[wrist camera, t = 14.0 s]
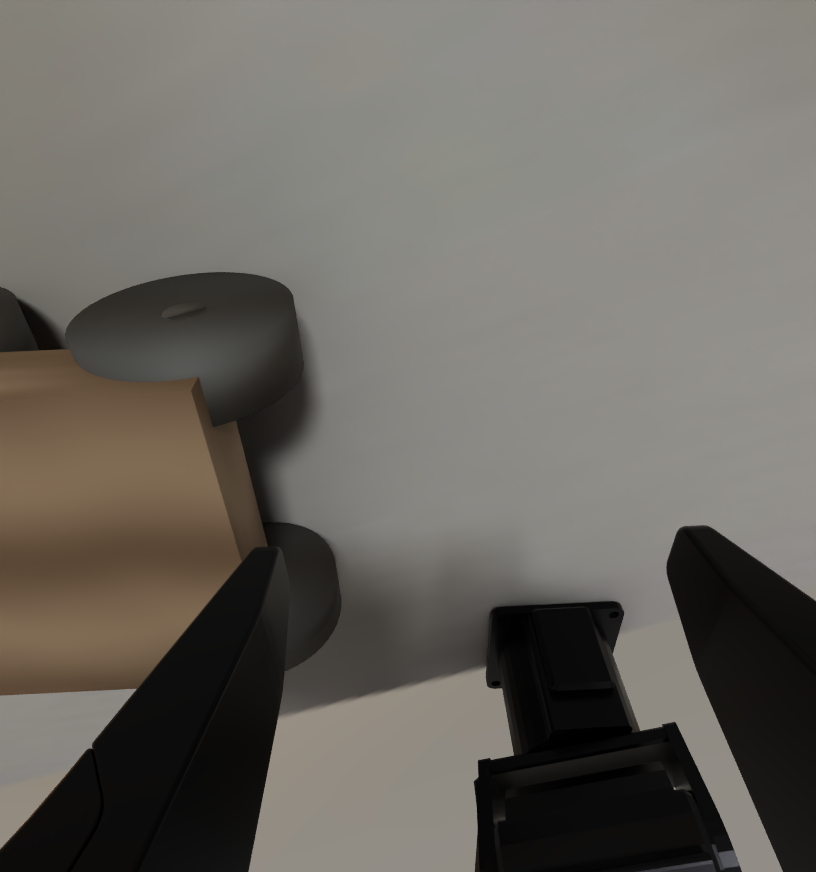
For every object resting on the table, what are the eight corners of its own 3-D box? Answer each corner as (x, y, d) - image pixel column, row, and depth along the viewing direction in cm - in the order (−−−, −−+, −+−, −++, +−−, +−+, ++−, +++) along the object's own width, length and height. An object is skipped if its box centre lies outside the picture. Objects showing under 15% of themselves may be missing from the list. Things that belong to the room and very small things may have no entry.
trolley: (345, 551, 26) (335, 686, 21) (33, 566, 26) (-57, 706, 21) (304, 268, 18) (273, 367, 13) (-137, 288, 18) (-346, 397, 13)
